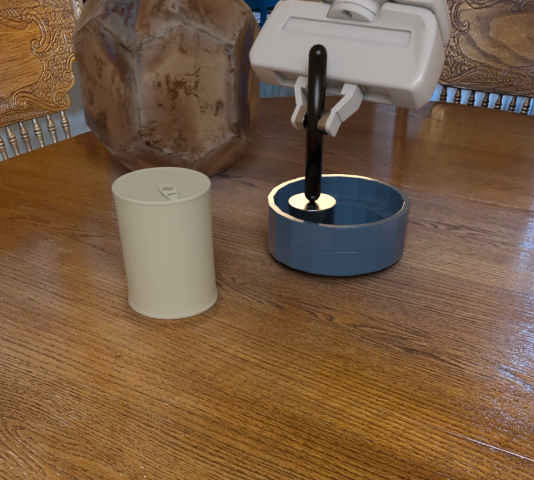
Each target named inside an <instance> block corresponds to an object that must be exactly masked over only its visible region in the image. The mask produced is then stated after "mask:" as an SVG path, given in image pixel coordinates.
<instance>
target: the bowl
mask: <svg viewBox="0 0 534 480" xmlns="http://www.w3.org/2000/svg"><path fill="white" fill-rule="evenodd" d="M304 184H305V176H301V177H297V178H295V179H294V178H293V179H291V180H287V181H285V182H284V181H283V182H282V183H281V184H279V185H277V186H275V187H274V188H272V190H271V191H270V192H269V193H268V195H267V197H266V200H267V201H266V202H267V204H266V206H267V209H266V211H267V212H266V213H267V214H266V215H267V216H266V218H267V219H266V220H267V221H266V223H267V227H266V228H267V230H266V232H267V233H266V235H267V237H266V238H267V249H268V252H269V253H270V254H271V256H272V257H273V258H274V259H275V260H277V262H280V263H282V264H284V265H285V266H287V267H289V268H291V269H295V270H298V271H302V272H305V273H308V274H312V275H318V276H324V277H353V276H361V275H365V274H369V273H370V274H371V273H374V272H379V271H381V270H384V269H386V268H388V267H391V266H393V265H394V264H395V263H396V262H397V261H399V260H400V259H401V258H402V257H403V254H404V251H405V249H406V248H405V246H406V240H407V232H408V225H409V217H410V210H411V200H410V198H409V196H408V194H407V192H405V191H404V190H403V189H401V188H399V187H398V186H397V185H395V184H391V183H390V182H386V181H384V180H380V179H377V178H371V177H367V176H362V175H354V174H344V173H343V174H342V173H341V174H340V173H337V174H336V173H334V174H333V173H331V174H330V173H329V174H322V181H321V193H322V194H326V195H329V196H331V197H333V198H334V199H335V200H336V213H335V225H328V224H318V223H312V222H308V221H304V220H300V219H296V218H294V217H292V216H290V215H288V201H289V199H290V198H291V197H292V196H294V195H297V194H301V193H304Z"/></svg>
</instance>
